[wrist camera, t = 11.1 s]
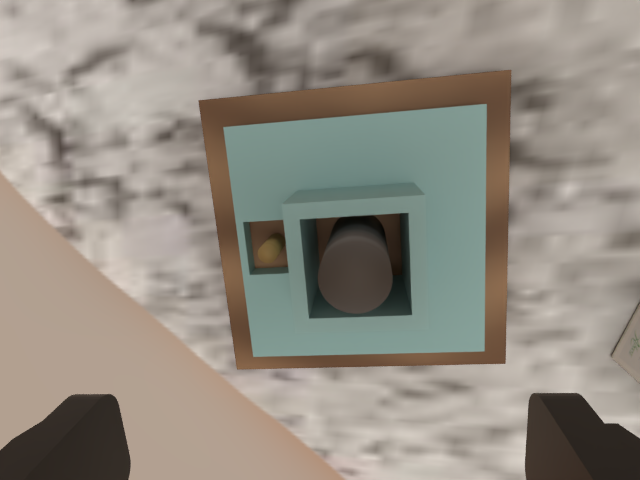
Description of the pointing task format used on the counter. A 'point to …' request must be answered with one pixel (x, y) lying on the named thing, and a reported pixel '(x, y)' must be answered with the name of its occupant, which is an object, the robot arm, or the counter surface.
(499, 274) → the post block
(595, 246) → the counter surface
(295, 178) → the flange plate
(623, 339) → the syrup box
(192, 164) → the counter surface
